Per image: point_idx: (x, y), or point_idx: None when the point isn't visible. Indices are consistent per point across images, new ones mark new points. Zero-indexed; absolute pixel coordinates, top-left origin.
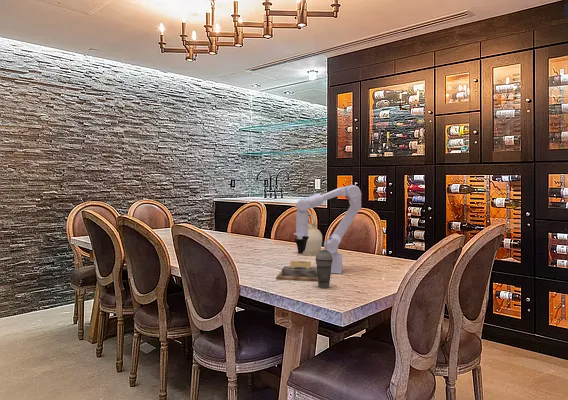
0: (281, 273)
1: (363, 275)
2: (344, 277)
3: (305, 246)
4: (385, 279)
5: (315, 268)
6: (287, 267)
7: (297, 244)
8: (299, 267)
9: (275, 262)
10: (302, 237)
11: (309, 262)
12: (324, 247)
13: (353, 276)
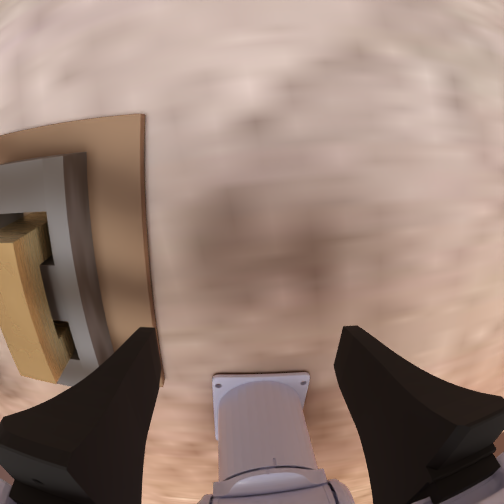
0: (56, 140)
1: (209, 477)
2: (147, 440)
3: (350, 410)
4: (170, 500)
5: (78, 377)
6: (28, 195)
7: (67, 401)
8: (59, 285)
9: (491, 70)
10: (411, 485)
11: (29, 373)
12: (334, 490)
13: (179, 460)
